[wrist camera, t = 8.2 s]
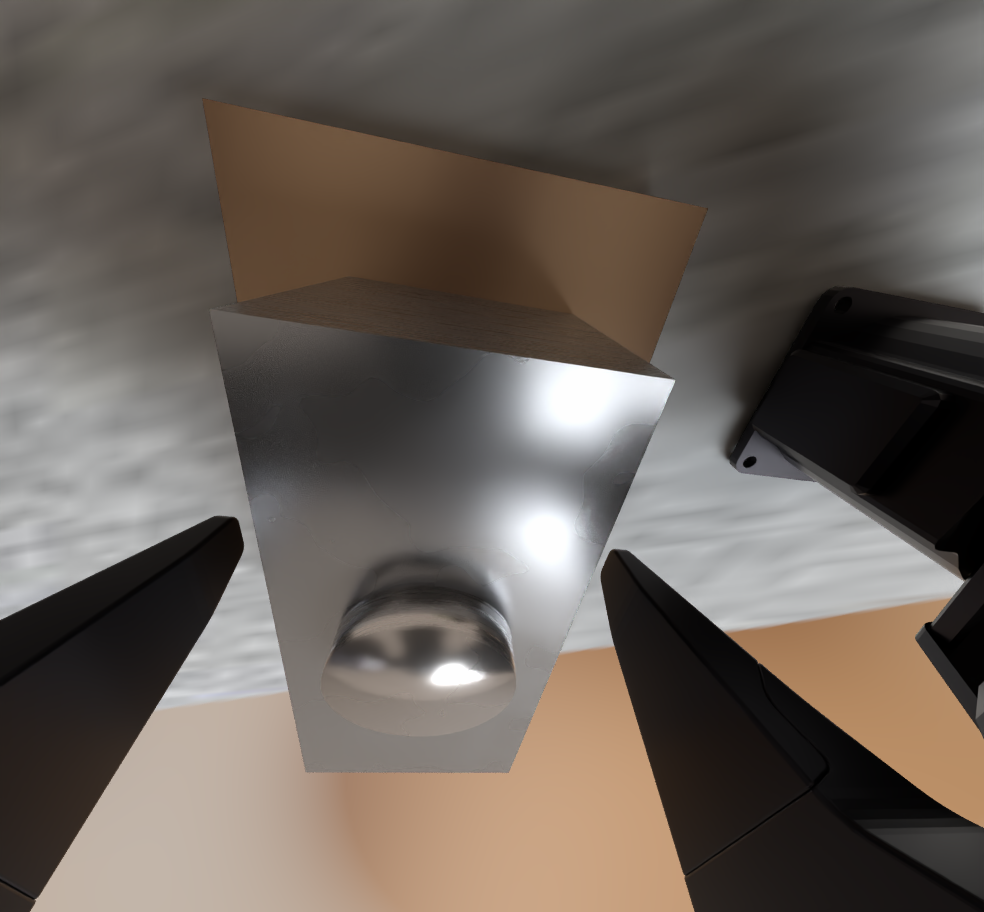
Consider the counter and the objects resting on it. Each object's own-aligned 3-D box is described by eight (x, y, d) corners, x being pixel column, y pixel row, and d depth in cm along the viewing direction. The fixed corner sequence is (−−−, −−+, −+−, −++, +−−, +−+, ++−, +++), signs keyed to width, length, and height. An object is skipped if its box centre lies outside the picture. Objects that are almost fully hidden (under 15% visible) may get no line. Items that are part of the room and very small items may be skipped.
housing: (496, 611, 14) (511, 812, 9) (358, 602, 13) (292, 815, 8) (573, 313, 9) (714, 404, 4) (348, 275, 8) (149, 324, 3)
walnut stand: (656, 216, 10) (708, 208, 8) (531, 602, 18) (540, 651, 16) (268, 135, 9) (202, 98, 6) (318, 588, 16) (295, 640, 14)
